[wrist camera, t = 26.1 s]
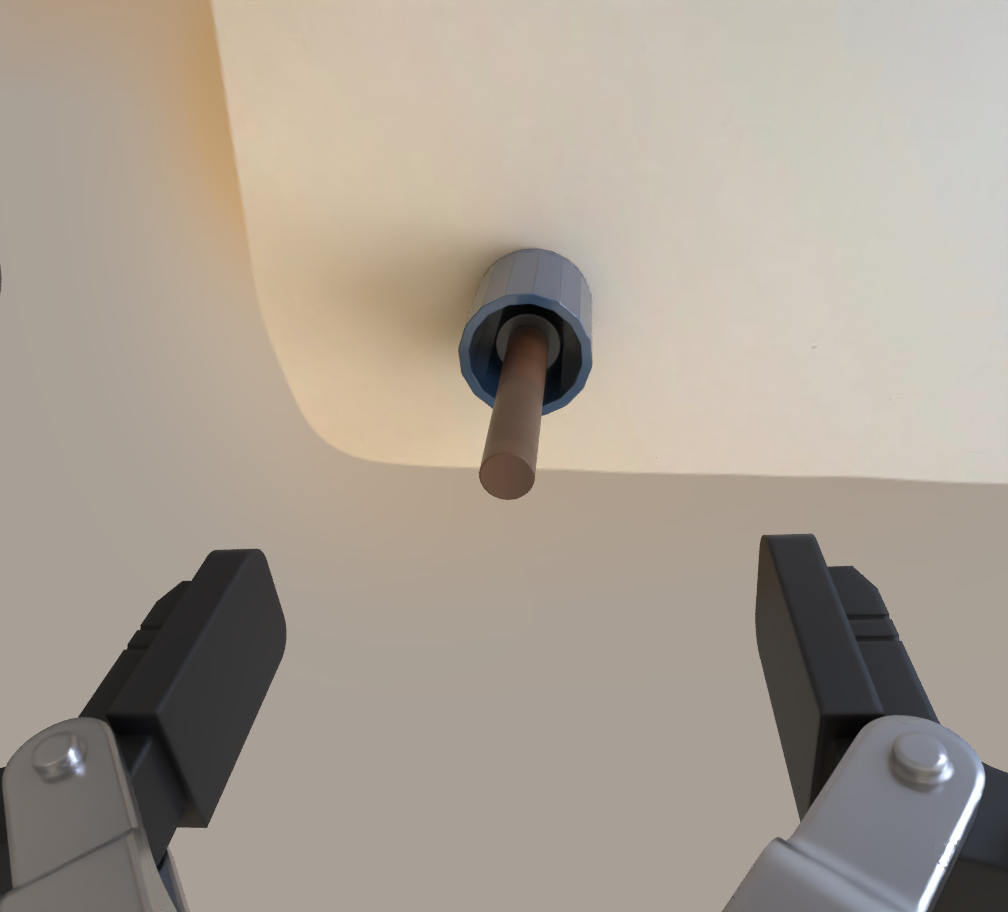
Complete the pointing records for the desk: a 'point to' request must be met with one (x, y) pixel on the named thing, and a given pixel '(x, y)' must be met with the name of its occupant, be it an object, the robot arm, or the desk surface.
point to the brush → (519, 398)
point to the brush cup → (539, 284)
